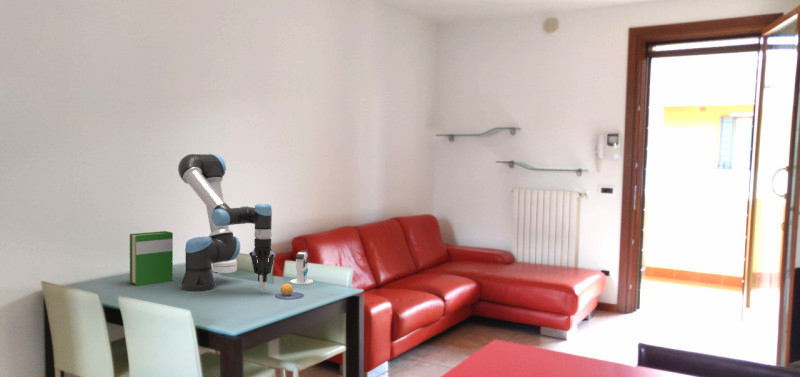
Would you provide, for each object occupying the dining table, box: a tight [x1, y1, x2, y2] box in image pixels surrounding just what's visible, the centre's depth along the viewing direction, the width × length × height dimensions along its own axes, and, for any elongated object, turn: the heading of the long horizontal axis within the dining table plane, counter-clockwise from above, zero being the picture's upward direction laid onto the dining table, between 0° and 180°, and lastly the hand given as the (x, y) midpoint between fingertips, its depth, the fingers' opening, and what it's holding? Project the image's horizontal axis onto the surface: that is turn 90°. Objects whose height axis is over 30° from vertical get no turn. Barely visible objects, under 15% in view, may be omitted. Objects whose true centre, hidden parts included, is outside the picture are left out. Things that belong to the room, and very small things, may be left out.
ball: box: [280, 283, 294, 296], centre depth 262 cm, size 6×6×6 cm
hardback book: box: [129, 230, 174, 287], centre depth 281 cm, size 18×7×24 cm, turn 137°
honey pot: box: [212, 257, 238, 274], centre depth 313 cm, size 13×13×18 cm
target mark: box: [274, 291, 305, 300], centre depth 262 cm, size 13×13×1 cm
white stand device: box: [289, 250, 314, 285], centre depth 291 cm, size 12×11×15 cm
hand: (262, 288), depth 266 cm, fingers closed
